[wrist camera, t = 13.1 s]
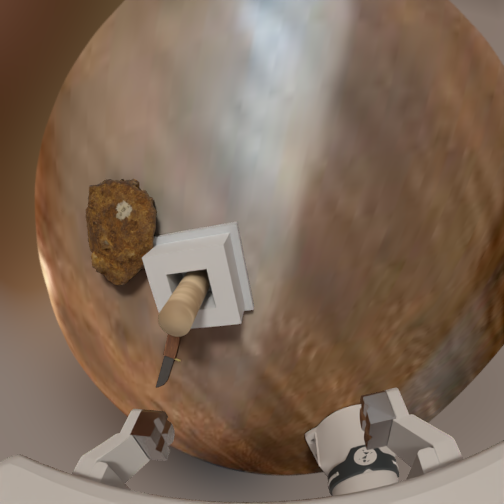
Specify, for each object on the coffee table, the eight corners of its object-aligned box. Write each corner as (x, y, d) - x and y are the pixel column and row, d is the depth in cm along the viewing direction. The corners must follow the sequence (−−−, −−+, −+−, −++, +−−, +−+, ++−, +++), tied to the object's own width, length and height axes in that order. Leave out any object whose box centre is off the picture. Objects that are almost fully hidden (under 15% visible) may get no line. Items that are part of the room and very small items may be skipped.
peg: (216, 285, 40) (194, 335, 29) (191, 288, 41) (163, 337, 29) (210, 261, 39) (185, 305, 28) (185, 264, 40) (153, 308, 28)
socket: (254, 306, 42) (251, 329, 36) (173, 314, 44) (160, 337, 38) (237, 221, 38) (230, 234, 33) (150, 236, 40) (132, 250, 34)
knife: (170, 395, 48) (154, 389, 48) (172, 391, 49) (156, 385, 49) (190, 324, 43) (171, 317, 43) (192, 320, 44) (173, 313, 44)
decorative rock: (163, 284, 43) (164, 178, 39) (155, 296, 39) (154, 180, 35) (94, 276, 43) (90, 178, 38) (82, 287, 39) (75, 180, 34)
